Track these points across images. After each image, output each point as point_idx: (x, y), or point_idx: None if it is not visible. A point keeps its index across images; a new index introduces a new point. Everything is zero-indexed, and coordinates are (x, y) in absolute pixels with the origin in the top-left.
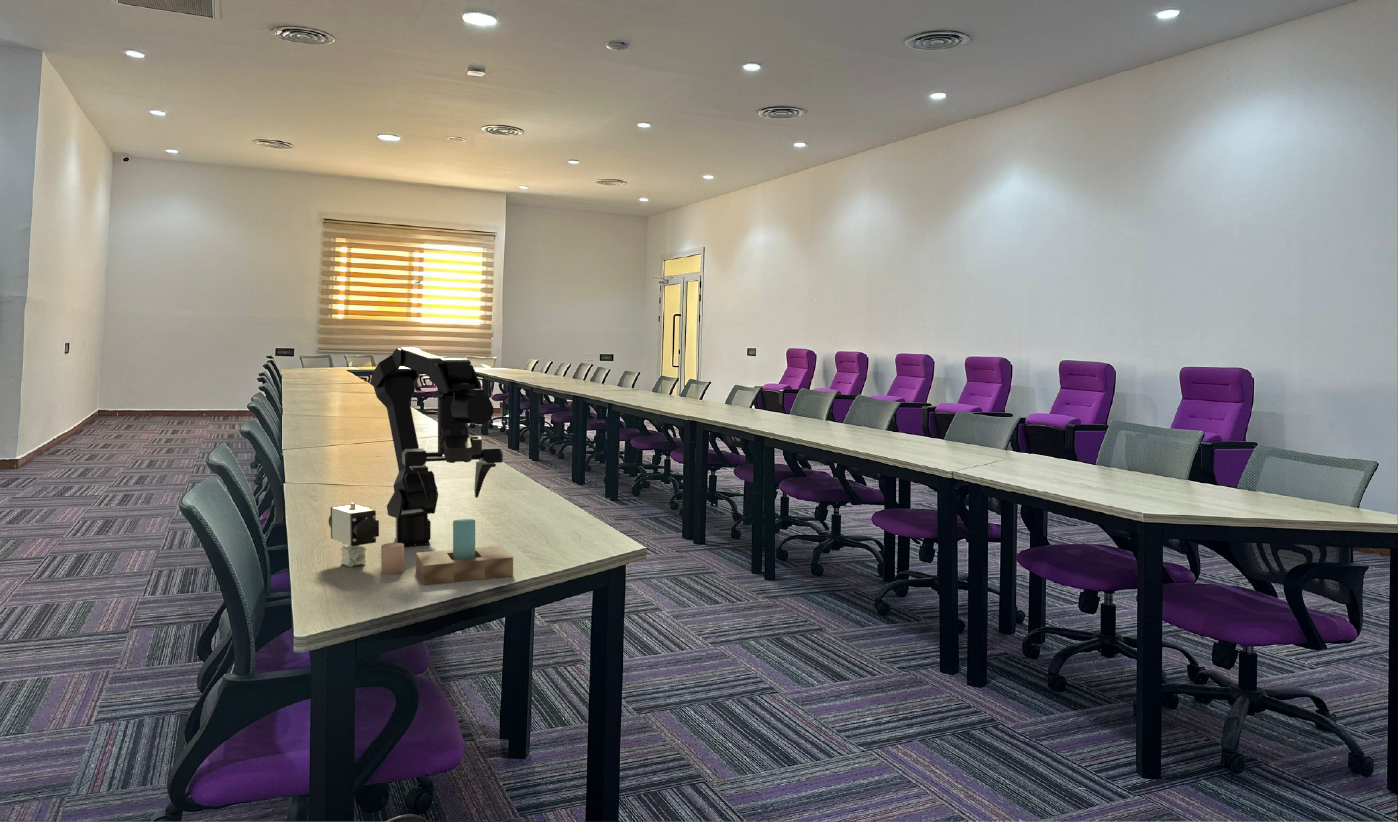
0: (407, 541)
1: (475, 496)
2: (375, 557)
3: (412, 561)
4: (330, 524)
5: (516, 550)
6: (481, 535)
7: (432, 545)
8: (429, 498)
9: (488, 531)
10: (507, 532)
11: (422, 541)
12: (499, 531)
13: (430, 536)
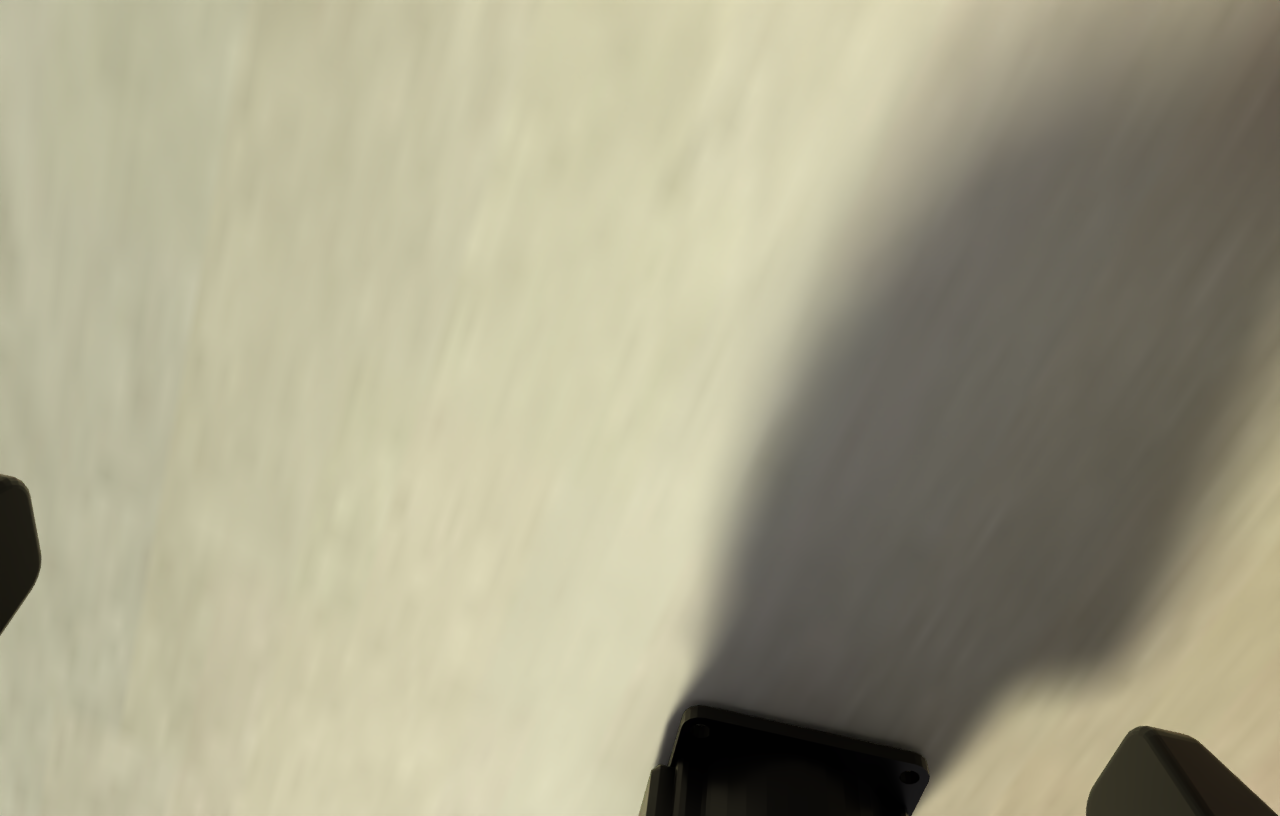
0: (848, 780)
1: (15, 527)
2: (1243, 595)
3: (1072, 297)
4: None
5: (33, 145)
6: (248, 734)
7: (670, 679)
8: (1190, 759)
9: (180, 794)
10: (50, 711)
11: (724, 756)
12: (104, 759)
13: (650, 786)
